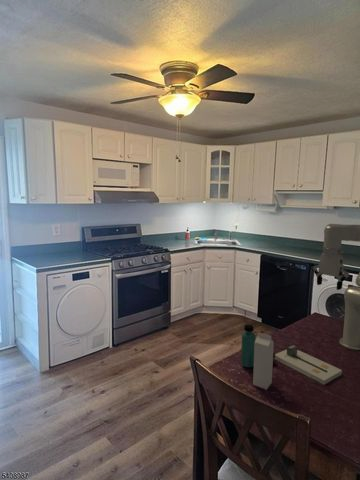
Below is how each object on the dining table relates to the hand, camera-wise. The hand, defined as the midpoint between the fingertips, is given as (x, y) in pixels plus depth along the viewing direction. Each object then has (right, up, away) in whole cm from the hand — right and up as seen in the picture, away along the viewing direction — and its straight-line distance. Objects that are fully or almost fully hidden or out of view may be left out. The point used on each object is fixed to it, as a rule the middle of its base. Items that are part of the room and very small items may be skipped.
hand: (328, 286), depth 150 cm
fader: (-17, -33, +3) cm, 37 cm away
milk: (-36, -38, -18) cm, 56 cm away
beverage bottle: (-40, -37, -4) cm, 54 cm away
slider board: (-12, -36, -4) cm, 39 cm away
